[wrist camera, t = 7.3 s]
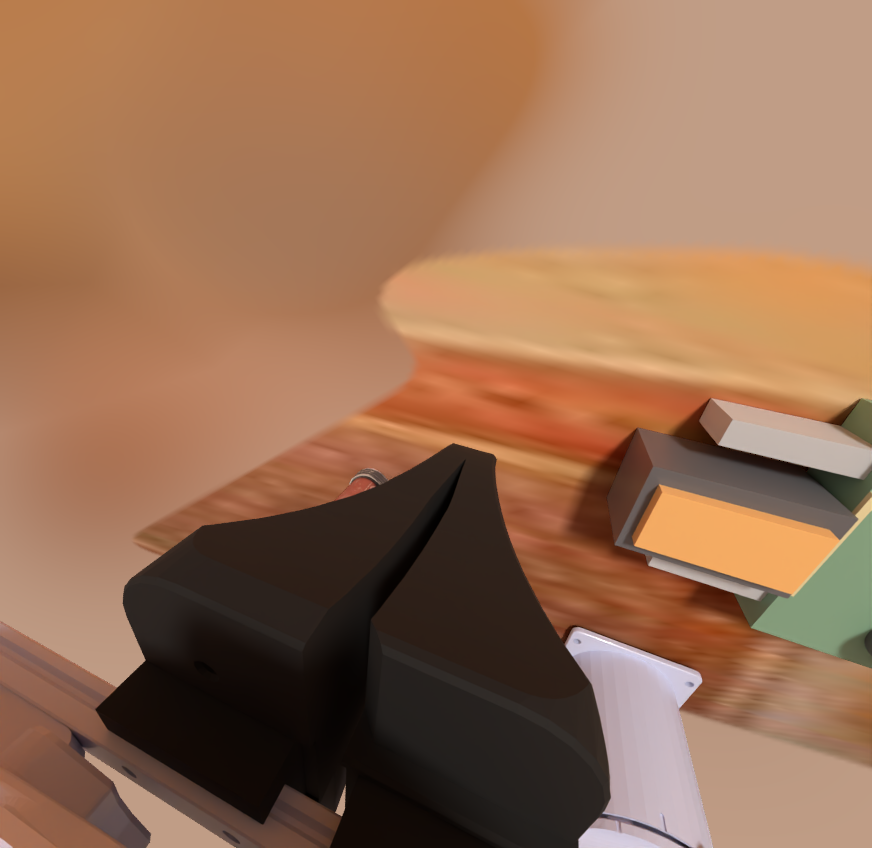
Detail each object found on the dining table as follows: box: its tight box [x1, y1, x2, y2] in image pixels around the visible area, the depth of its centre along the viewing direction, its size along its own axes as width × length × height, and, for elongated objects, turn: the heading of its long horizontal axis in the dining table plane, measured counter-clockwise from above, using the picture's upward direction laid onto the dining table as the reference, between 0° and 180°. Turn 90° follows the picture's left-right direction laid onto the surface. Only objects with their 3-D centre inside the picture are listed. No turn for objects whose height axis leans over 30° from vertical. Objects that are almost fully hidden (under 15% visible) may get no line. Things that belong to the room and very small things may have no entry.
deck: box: [645, 398, 872, 668], centre depth 15 cm, size 11×13×4 cm
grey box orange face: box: [607, 428, 859, 599], centre depth 16 cm, size 4×7×5 cm, turn 82°
